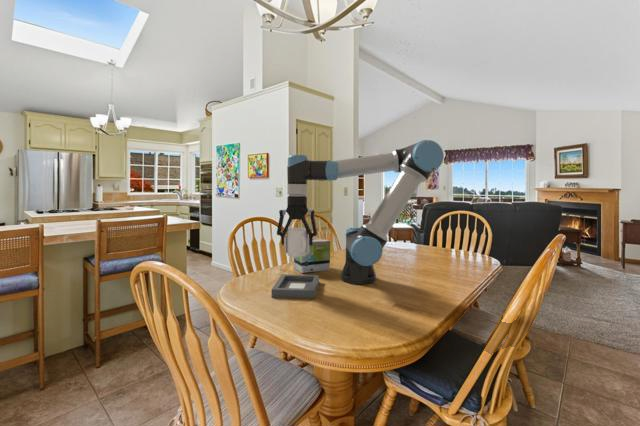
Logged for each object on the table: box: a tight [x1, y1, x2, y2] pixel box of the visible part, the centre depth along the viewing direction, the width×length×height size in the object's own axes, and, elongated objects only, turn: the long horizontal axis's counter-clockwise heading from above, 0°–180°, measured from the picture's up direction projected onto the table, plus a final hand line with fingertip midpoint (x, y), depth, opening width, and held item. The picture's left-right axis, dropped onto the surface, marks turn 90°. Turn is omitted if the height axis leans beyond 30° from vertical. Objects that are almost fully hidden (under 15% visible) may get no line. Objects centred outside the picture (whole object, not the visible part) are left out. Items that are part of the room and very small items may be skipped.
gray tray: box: [271, 273, 320, 300], centre depth 129 cm, size 16×20×3 cm
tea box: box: [293, 237, 331, 274], centre depth 158 cm, size 15×10×15 cm, turn 117°
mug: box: [286, 227, 309, 258], centre depth 127 cm, size 12×8×10 cm
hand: (296, 253), depth 128 cm, fingers closed on mug, 8 cm apart
